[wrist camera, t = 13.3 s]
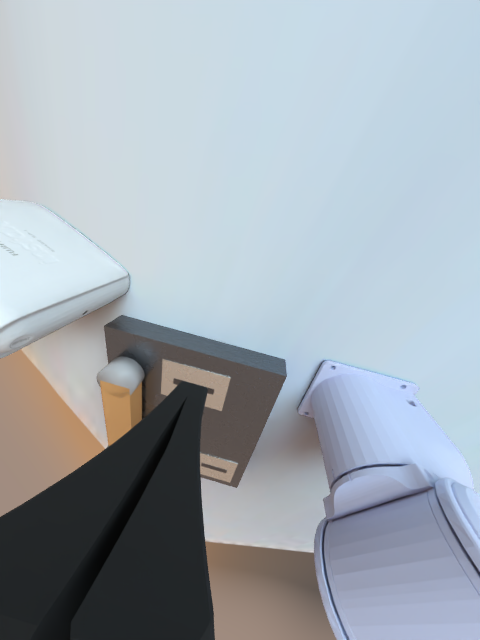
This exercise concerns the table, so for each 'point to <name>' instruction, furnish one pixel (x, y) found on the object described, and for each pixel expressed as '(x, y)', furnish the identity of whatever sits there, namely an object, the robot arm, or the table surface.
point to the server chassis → (209, 371)
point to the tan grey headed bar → (121, 396)
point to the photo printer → (48, 275)
